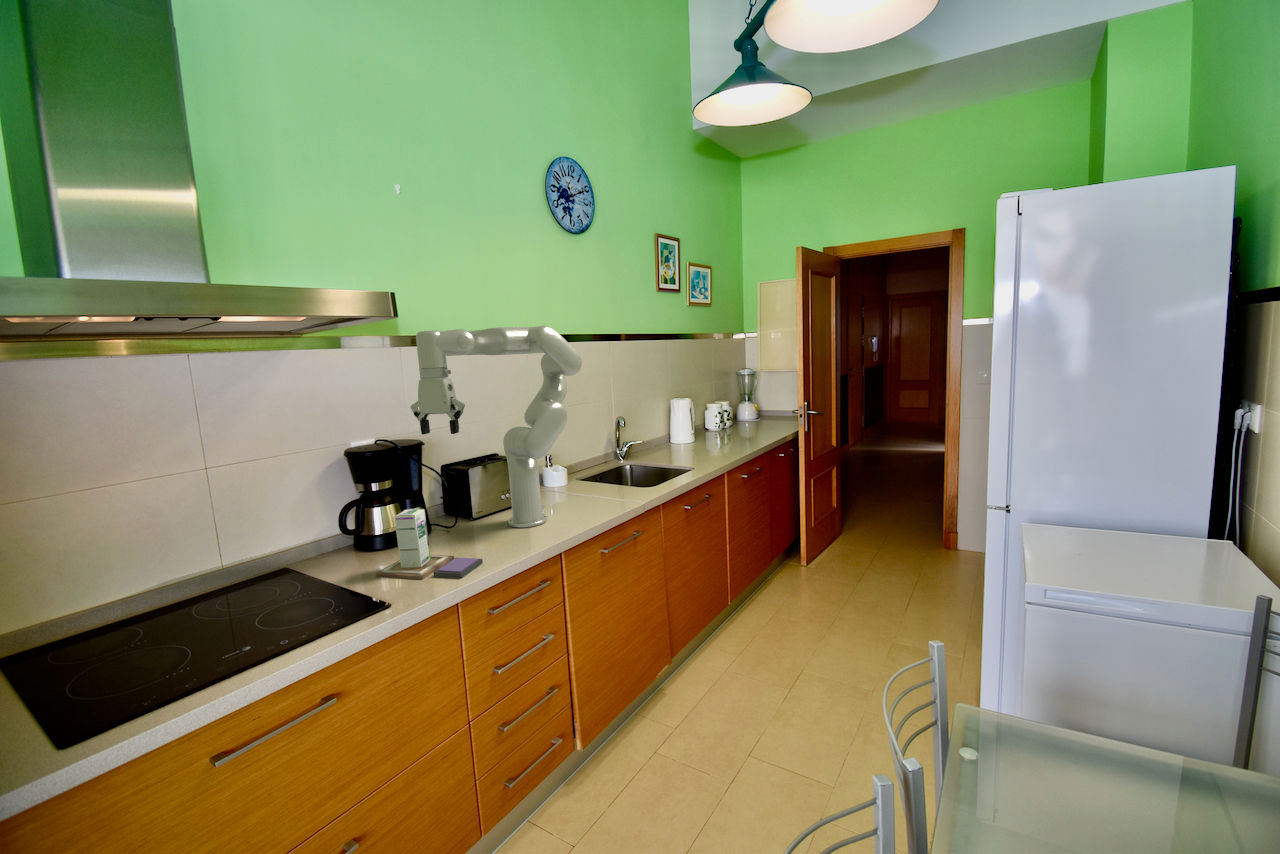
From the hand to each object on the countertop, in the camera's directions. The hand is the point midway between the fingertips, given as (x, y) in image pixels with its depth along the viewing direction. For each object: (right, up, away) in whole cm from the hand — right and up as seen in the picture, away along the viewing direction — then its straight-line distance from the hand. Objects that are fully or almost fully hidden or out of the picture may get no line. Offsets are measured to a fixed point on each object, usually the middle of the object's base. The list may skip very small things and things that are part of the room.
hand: (440, 433), depth 162 cm
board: (-2, -36, -13) cm, 38 cm away
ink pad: (+11, -35, -16) cm, 40 cm away
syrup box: (-2, -35, -13) cm, 37 cm away
